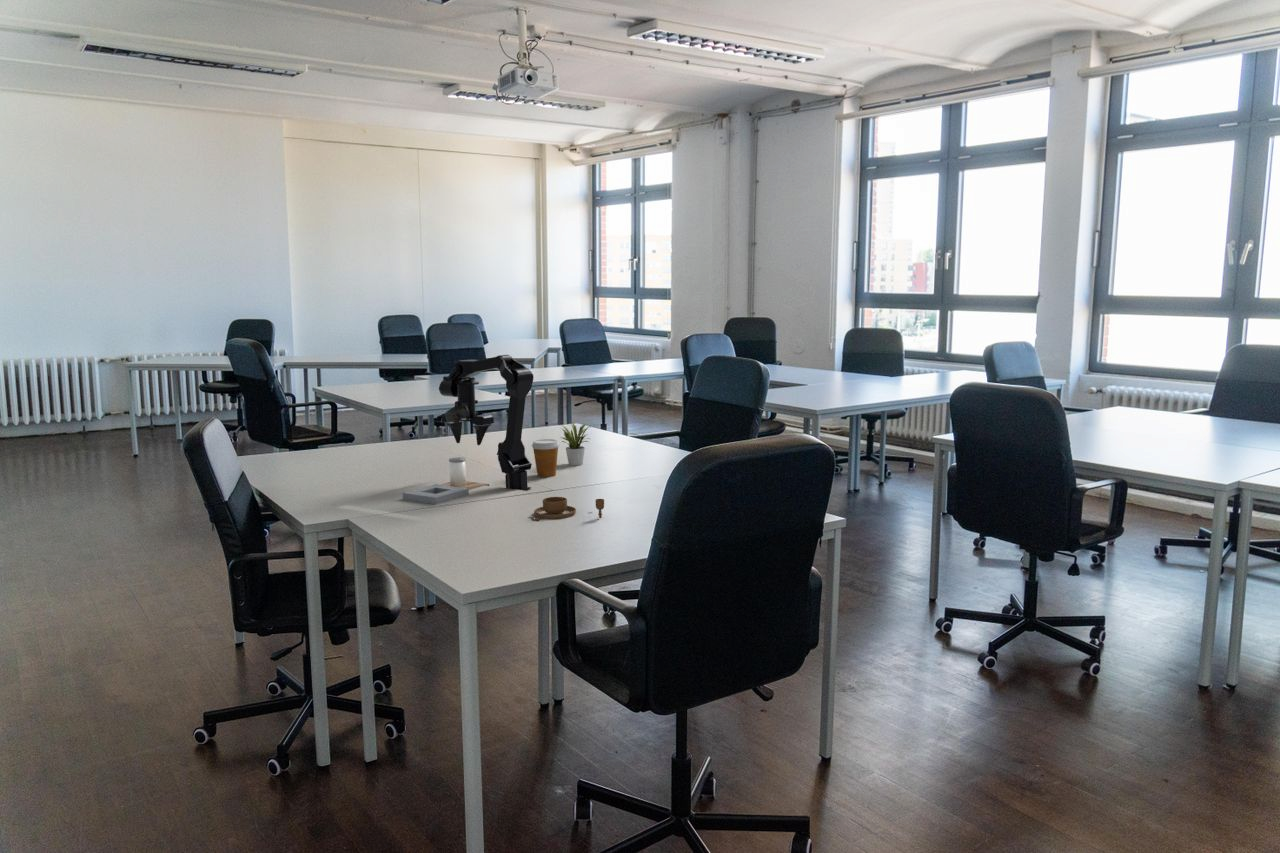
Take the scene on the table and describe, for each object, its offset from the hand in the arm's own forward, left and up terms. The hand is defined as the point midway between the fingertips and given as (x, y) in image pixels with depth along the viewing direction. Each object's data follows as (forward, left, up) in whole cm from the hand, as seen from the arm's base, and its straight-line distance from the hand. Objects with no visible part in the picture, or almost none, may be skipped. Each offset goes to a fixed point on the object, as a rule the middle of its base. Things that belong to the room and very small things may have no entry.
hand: (468, 444), depth 303 cm
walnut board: (-4, +10, -13) cm, 17 cm away
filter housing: (-9, +25, -13) cm, 29 cm away
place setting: (-56, +22, -14) cm, 62 cm away
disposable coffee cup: (-16, -21, -13) cm, 30 cm away
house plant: (-14, -43, -13) cm, 47 cm away
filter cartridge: (-4, +10, -12) cm, 16 cm away
